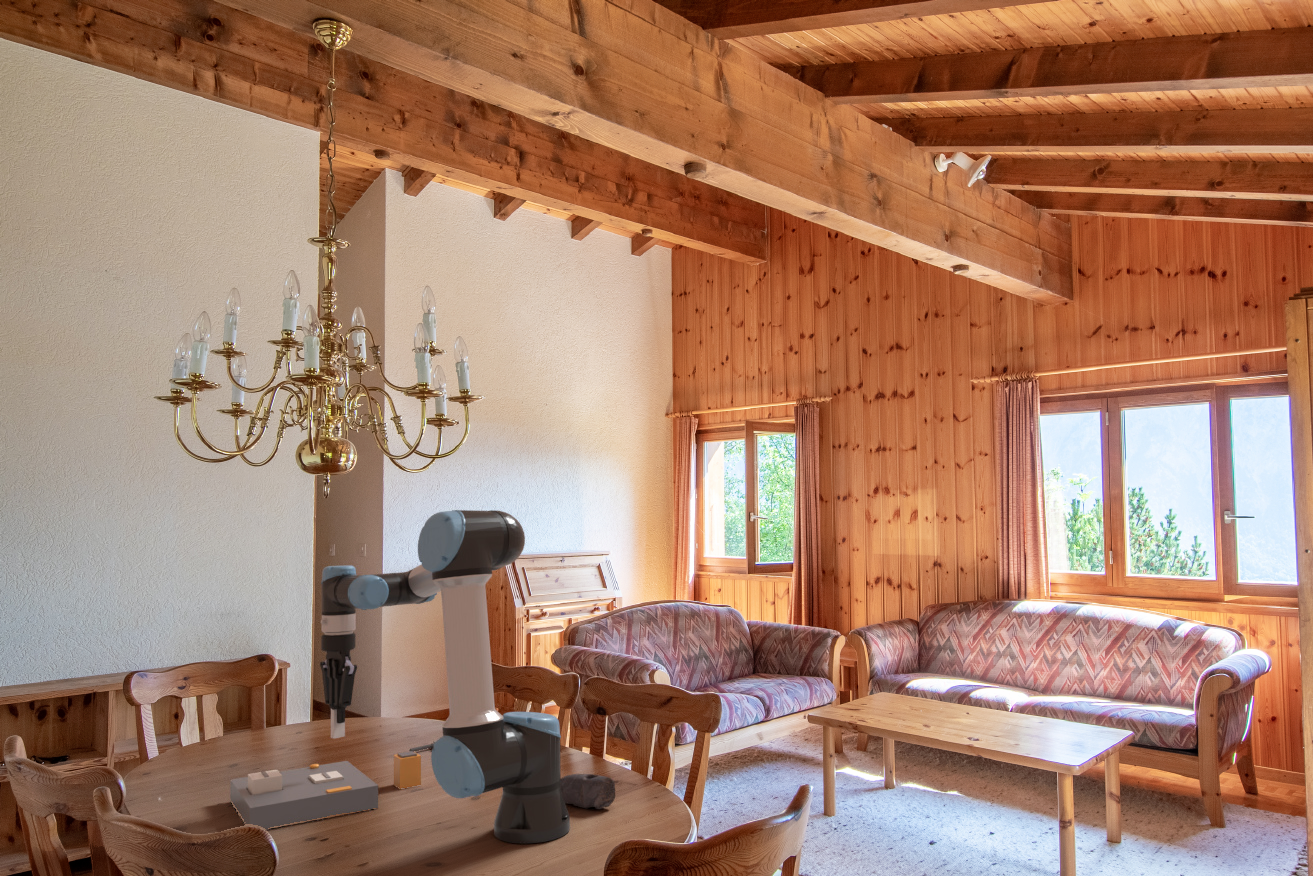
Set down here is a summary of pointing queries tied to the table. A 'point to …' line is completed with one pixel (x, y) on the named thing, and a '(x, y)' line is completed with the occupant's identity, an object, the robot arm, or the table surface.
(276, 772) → the breaker untagged
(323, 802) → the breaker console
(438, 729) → the table surface
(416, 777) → the cap
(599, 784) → the perforated stone tool
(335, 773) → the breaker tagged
